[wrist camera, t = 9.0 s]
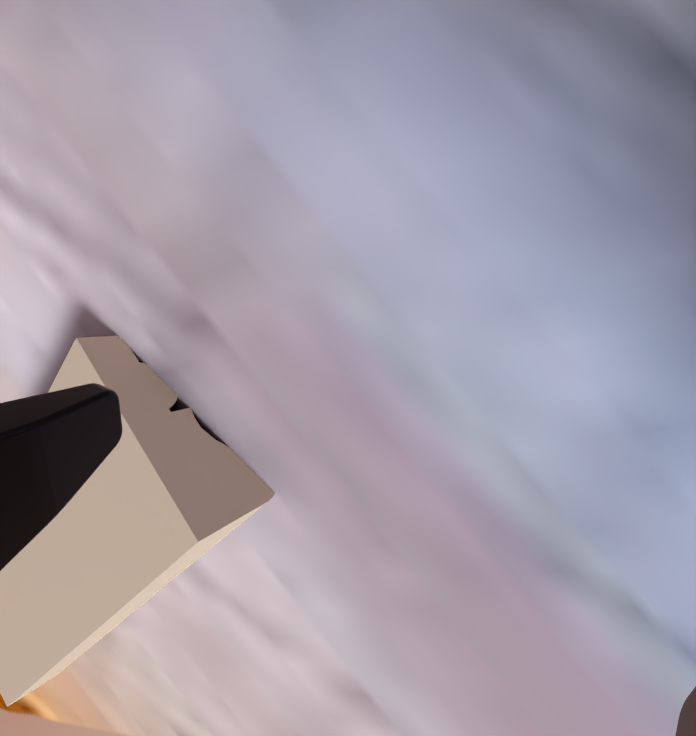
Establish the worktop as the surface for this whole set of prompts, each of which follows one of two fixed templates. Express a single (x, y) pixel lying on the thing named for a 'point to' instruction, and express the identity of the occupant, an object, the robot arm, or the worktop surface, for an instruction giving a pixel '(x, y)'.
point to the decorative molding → (118, 522)
